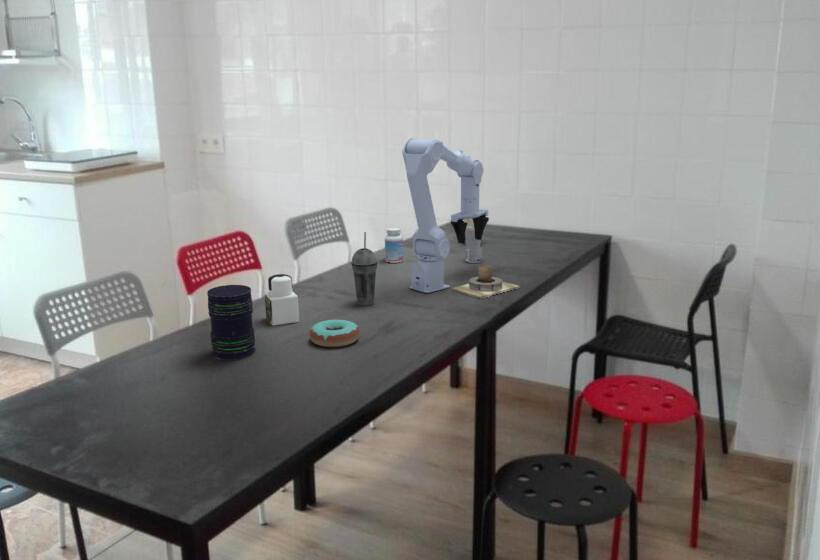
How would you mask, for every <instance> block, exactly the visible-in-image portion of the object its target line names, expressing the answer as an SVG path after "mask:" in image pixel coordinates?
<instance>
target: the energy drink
mask: <svg viewBox="0 0 820 560" xmlns="http://www.w3.org/2000/svg"><path fill="white" fill-rule="evenodd" d="M465 234H466V244H465V262H466V263H467V262H468V264H480V263H481V262H483V261H482V259H483V258H482V257H483V256H482V255H483V254H482V248H483V245H482V244H483V238H482V239H481V240H477V239H475V230H474V225H470V226H467V227H466V231H465Z"/></svg>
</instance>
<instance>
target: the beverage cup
mask: <svg viewBox="0 0 820 560" xmlns="http://www.w3.org/2000/svg"><path fill="white" fill-rule="evenodd" d="M363 237H364V238H363V248H360V249H357V250H356V251H355V252H354V253H353V255H352V257H351V262H350V265H351V268H352V271H353V277H354V279H353V280H354V286H355V287H354V288H355V294H356V301H357V302H356V303H357V304H358V305H359V306H362V307H363V306H364V307H366V306H367V307H368V306H371V305H373V304H374V303H375V302H374V301H375V294H376V293H375V292H376V277H377V268H378V259H377V256H376V254H375V252H373V251H372V250H371V249H369V248H367V231H364V233H363Z"/></svg>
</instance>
